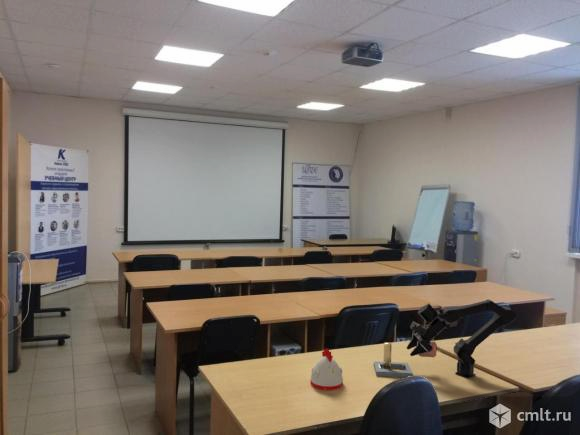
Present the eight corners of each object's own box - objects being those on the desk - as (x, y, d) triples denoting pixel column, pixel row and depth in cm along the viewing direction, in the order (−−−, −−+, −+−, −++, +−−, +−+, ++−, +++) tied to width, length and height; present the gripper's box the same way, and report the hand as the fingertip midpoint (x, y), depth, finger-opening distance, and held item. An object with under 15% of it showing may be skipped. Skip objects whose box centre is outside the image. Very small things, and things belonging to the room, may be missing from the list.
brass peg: (394, 370, 211) (394, 342, 211) (390, 373, 207) (391, 345, 206) (383, 368, 214) (384, 341, 213) (380, 371, 209) (380, 343, 209)
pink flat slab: (417, 341, 257) (417, 338, 257) (435, 343, 254) (435, 340, 254) (416, 356, 232) (416, 353, 232) (436, 359, 229) (436, 355, 229)
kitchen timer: (319, 392, 186) (320, 356, 185) (305, 380, 198) (305, 346, 198) (348, 387, 191) (349, 352, 191) (333, 375, 204) (333, 342, 203)
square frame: (407, 367, 216) (407, 362, 216) (412, 377, 203) (412, 372, 203) (373, 365, 217) (373, 361, 217) (376, 375, 204) (376, 371, 204)
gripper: (417, 311, 217) (393, 333, 219) (425, 321, 199) (399, 345, 200) (433, 328, 217) (410, 350, 218) (443, 340, 198) (417, 364, 200)
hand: (408, 352), depth 209 cm, fingers open, 9 cm apart
